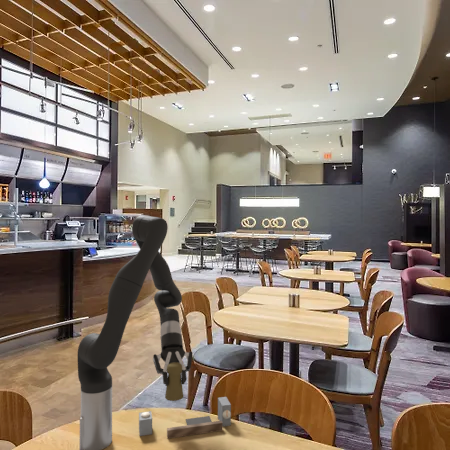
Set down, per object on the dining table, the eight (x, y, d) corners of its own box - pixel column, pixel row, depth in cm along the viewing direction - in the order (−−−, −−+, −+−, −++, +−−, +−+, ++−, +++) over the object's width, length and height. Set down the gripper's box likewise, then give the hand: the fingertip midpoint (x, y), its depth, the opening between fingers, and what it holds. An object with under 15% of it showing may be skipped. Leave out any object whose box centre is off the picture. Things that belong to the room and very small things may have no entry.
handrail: (167, 438, 116) (167, 430, 116) (166, 435, 118) (167, 428, 118) (222, 430, 121) (222, 422, 121) (221, 428, 123) (221, 420, 123)
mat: (189, 433, 119) (189, 432, 119) (185, 420, 128) (185, 419, 128) (214, 429, 122) (214, 428, 122) (209, 417, 130) (209, 415, 130)
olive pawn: (184, 392, 126) (184, 360, 126) (182, 400, 120) (183, 366, 120) (166, 392, 125) (166, 360, 125) (163, 400, 119) (164, 366, 119)
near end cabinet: (139, 435, 118) (139, 418, 118) (138, 427, 123) (138, 411, 123) (152, 434, 119) (152, 417, 119) (151, 426, 124) (151, 409, 124)
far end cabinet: (222, 427, 123) (222, 406, 123) (217, 417, 129) (217, 397, 129) (231, 426, 124) (231, 405, 124) (226, 416, 130) (226, 396, 130)
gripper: (151, 332, 128) (153, 381, 116) (192, 330, 132) (198, 377, 120) (150, 343, 133) (152, 391, 121) (189, 340, 137) (195, 386, 125)
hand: (175, 383), depth 121 cm, fingers closed on olive pawn, 5 cm apart
